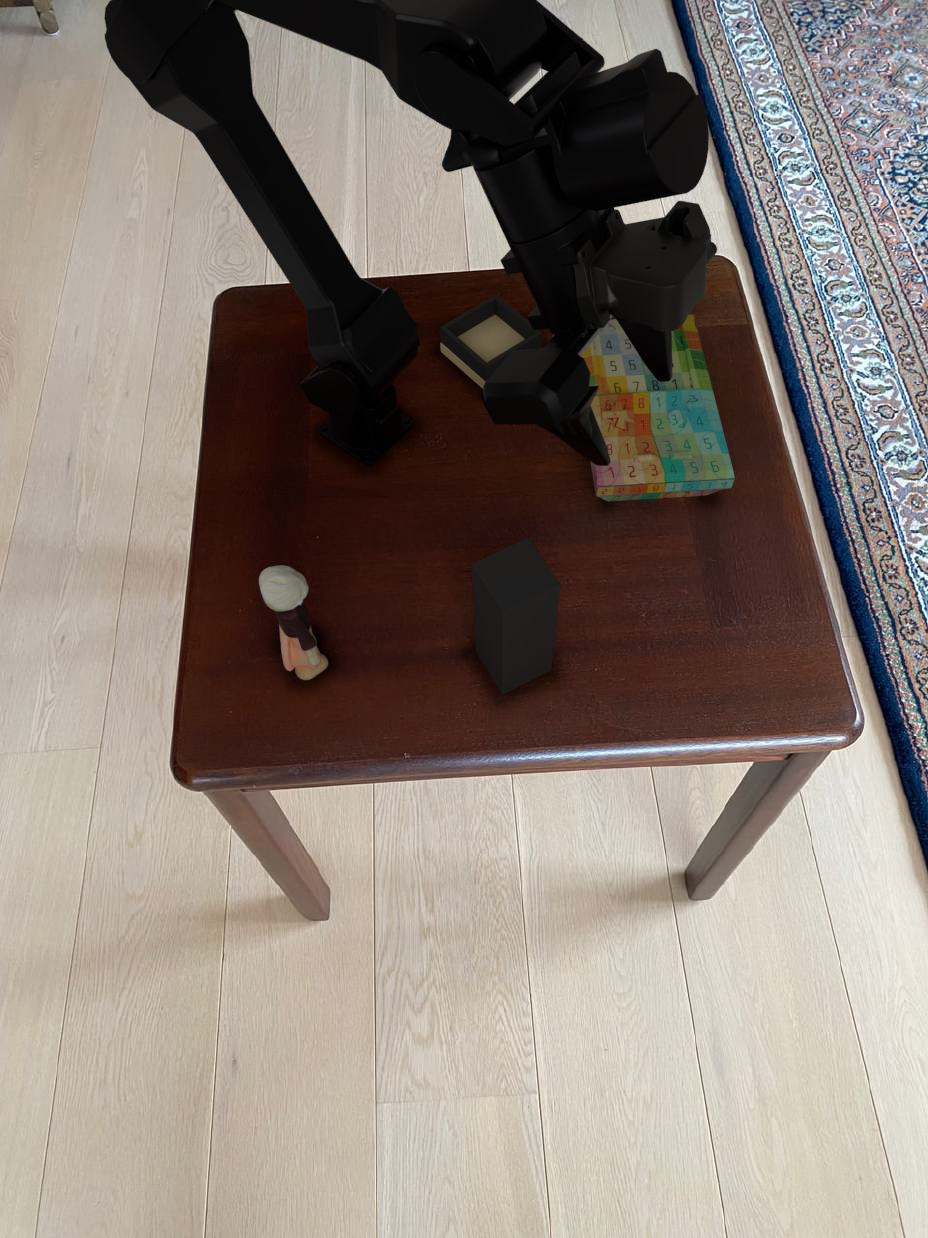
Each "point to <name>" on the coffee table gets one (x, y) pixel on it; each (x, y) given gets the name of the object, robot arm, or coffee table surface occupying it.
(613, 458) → the puzzle game
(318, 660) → the grandmother figurine
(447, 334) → the base pad
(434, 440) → the coffee table surface
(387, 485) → the coffee table surface
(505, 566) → the pad block
